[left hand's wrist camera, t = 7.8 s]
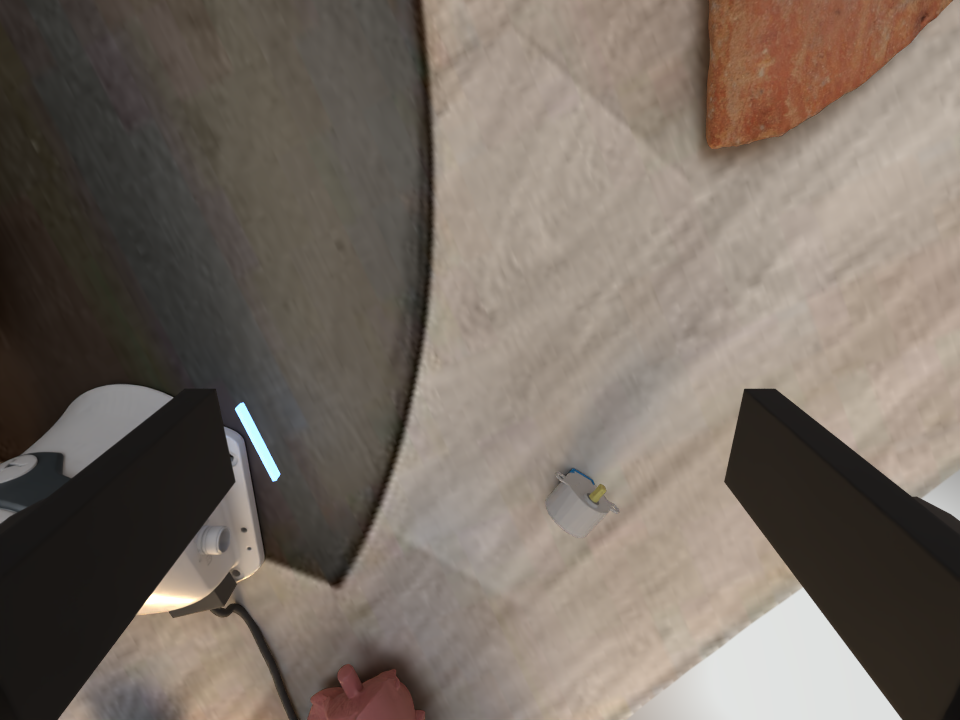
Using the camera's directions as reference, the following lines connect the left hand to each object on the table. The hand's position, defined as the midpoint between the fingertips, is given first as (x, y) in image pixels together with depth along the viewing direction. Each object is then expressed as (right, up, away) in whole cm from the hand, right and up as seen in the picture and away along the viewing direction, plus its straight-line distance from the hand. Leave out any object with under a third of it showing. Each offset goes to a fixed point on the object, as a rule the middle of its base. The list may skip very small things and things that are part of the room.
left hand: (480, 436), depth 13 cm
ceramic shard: (+22, +25, +20) cm, 39 cm away
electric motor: (+9, -9, +34) cm, 36 cm away
